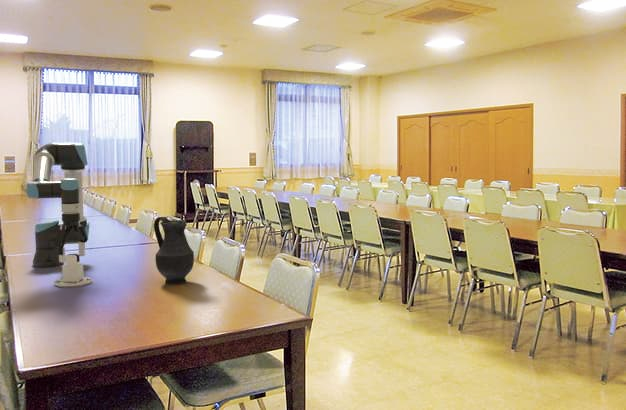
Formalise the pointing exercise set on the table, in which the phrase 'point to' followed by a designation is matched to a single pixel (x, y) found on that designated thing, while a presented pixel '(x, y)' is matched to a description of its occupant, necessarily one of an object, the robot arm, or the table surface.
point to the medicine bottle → (72, 269)
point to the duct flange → (73, 283)
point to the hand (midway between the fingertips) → (72, 259)
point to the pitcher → (173, 251)
